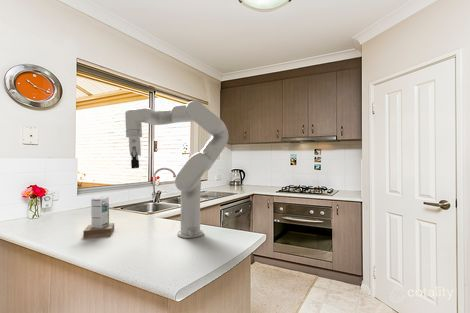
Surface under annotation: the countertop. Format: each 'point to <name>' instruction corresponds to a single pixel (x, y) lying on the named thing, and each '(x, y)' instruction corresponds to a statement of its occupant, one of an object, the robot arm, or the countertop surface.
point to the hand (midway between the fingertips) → (135, 168)
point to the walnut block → (98, 231)
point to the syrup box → (100, 212)
